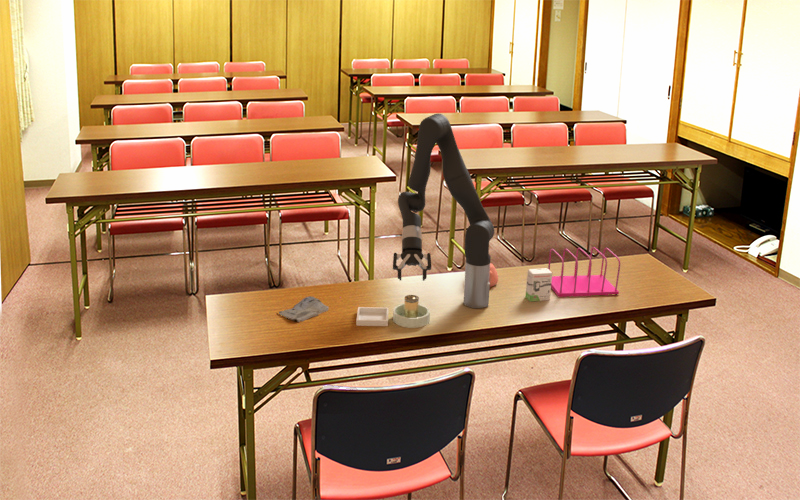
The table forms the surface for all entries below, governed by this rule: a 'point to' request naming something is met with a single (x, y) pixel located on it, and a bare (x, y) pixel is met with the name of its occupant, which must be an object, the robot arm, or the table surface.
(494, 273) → the teapot
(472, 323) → the table surface
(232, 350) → the table surface
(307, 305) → the fossil rock
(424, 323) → the bowl
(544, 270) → the ink box
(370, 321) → the parts tray
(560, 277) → the file sorter
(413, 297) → the glass jar with lid
